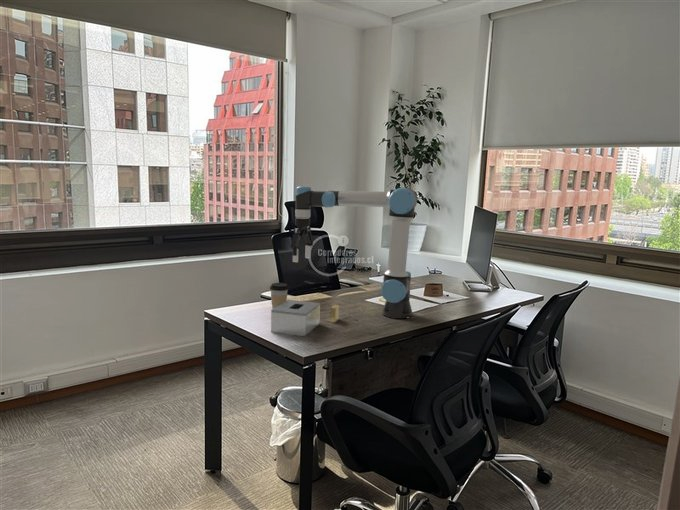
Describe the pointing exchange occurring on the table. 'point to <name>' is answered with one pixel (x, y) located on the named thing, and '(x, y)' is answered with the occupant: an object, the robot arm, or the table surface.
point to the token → (334, 313)
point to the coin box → (295, 317)
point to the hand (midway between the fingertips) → (301, 260)
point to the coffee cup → (278, 293)
